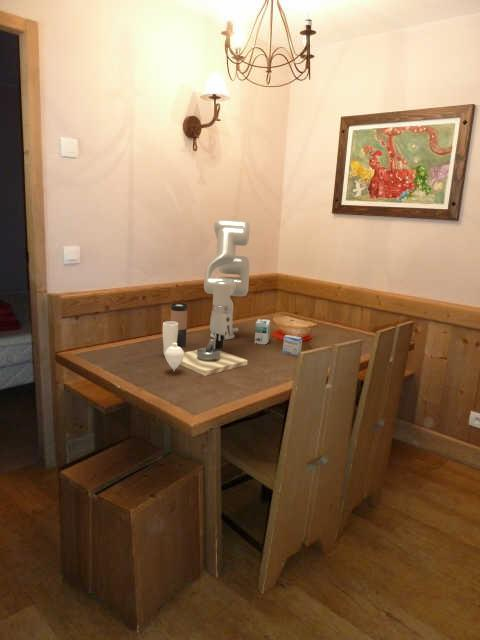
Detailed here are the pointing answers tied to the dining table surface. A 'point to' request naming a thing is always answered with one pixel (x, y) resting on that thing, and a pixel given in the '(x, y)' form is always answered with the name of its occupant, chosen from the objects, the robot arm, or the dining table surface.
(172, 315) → the travel mug
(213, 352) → the silver piece
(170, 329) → the drinking glass
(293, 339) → the medicine box
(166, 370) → the dining table surface
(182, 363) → the board
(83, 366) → the dining table surface
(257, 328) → the light bulb box
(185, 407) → the dining table surface
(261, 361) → the dining table surface
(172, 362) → the spinning top
